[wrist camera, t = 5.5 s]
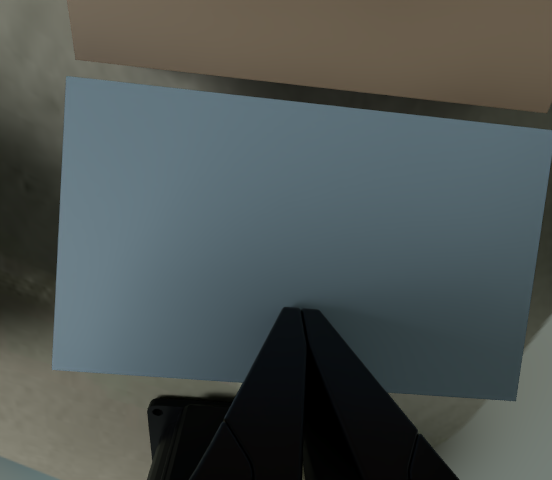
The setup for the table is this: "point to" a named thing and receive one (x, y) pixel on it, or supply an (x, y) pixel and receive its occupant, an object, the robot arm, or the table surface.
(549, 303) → the table surface
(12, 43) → the table surface
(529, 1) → the brown platform with wall
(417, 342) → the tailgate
